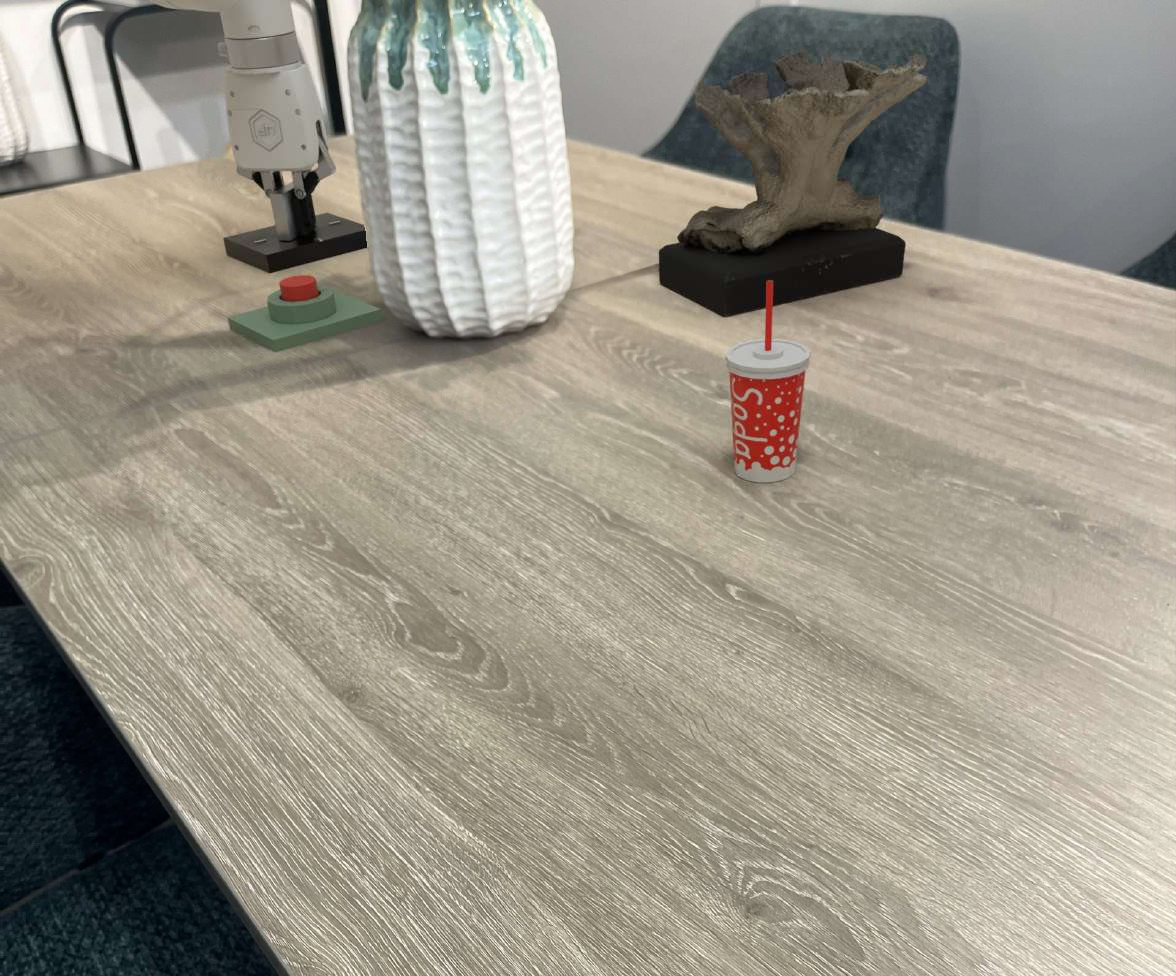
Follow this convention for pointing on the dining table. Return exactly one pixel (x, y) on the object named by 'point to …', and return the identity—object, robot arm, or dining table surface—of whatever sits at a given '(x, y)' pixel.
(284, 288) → the button
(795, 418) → the beverage cup
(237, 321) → the button block
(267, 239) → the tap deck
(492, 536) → the dining table surface
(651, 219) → the dining table surface
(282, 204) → the upright grey panel
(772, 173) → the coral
